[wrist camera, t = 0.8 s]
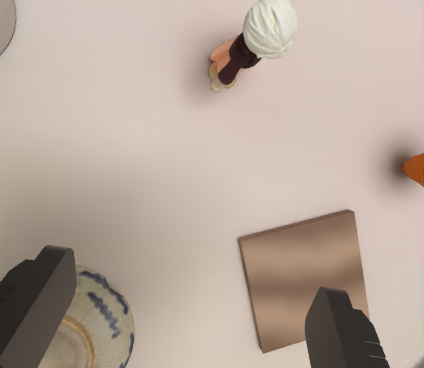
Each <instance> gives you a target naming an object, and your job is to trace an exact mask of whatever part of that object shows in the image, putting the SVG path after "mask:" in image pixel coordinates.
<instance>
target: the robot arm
mask: <svg viewBox="0 0 424 368" xmlns="http://www.w3.org/2000/svg"><path fill="white" fill-rule="evenodd" d="M15 21H16V15H15V5H14V2H13V0H0V53H2V52H3V50H4V49H5V48H6V46H7V45H8V43H9V42H10V39H11V37H12V35H13V32H14V27H15ZM76 287H77V276H76V267H75V259H74V252H73V250H72V249H71V248H64V247H58V246H51V245H47V246H45V247H44V248H43V249H42V251H41V252H40V254H39V255H38V256H37V258H36V259H35V260H27V259H26V260H24V261H23V262H21V263H20V264H18V265H17V266H16V267H14V268H13V269H11V270H10V271H9V272H8V273H7V274H6V276H5V277H4V278H3V280H2V281H1V282H0V368H38V366H39V364H40V362H41V360H42V358H43V356H44V354H45V352H46V351H47V349H48V347H49V345H50V343H51V341H52V339H53V337H54V335H55V333H56V331H57V329H58V327H59V325H60V323H61V321H62V319H63V318H64V316H65V314H66V312H67V310H68V308H69V306H70V304H71V302H72V300H73V298H74V295H75V292H76ZM305 337H306V343H307V348H308V353H309V359H310V364H311V368H390V367H389V364H388V362H387V361H386V359H385V357H386V356H385V354H384V351H383V349H382V346H380V341H379V338H378V336H377V333H376V331H375V328H374V326H373V324H372V323H371V322H370V320H369V319H368V318H367V317H366V315H365V314H364V313H363V311H362V310H359V309H353V307H352V304H351V301H350V298H349V295H348V293H347V292H346V291H345V290H341V289H334V288H328V287H320V288H319V289H318V291H317V293H316V296H315V298H314V300H313V302H312V304H311V306H310V309H309V311H308V313H307V315H306V319H305Z"/></svg>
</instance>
